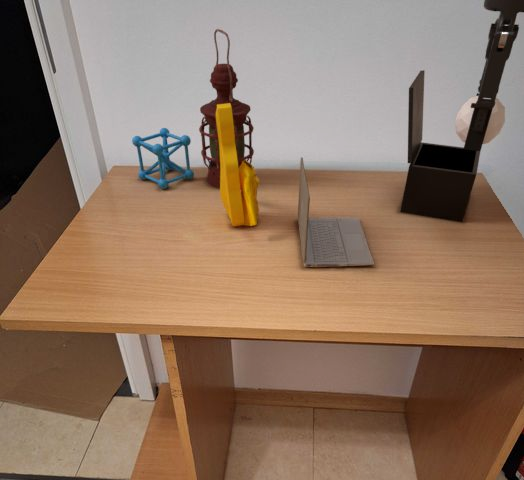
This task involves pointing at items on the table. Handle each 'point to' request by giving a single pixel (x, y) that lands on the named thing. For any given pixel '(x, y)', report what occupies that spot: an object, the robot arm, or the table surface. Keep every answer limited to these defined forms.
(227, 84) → the lantern
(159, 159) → the molecular structure
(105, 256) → the table surface
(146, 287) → the table surface
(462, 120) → the geometric ball
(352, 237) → the laptop
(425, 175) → the box
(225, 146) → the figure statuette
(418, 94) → the dark brown box lid
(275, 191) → the table surface
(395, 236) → the table surface
